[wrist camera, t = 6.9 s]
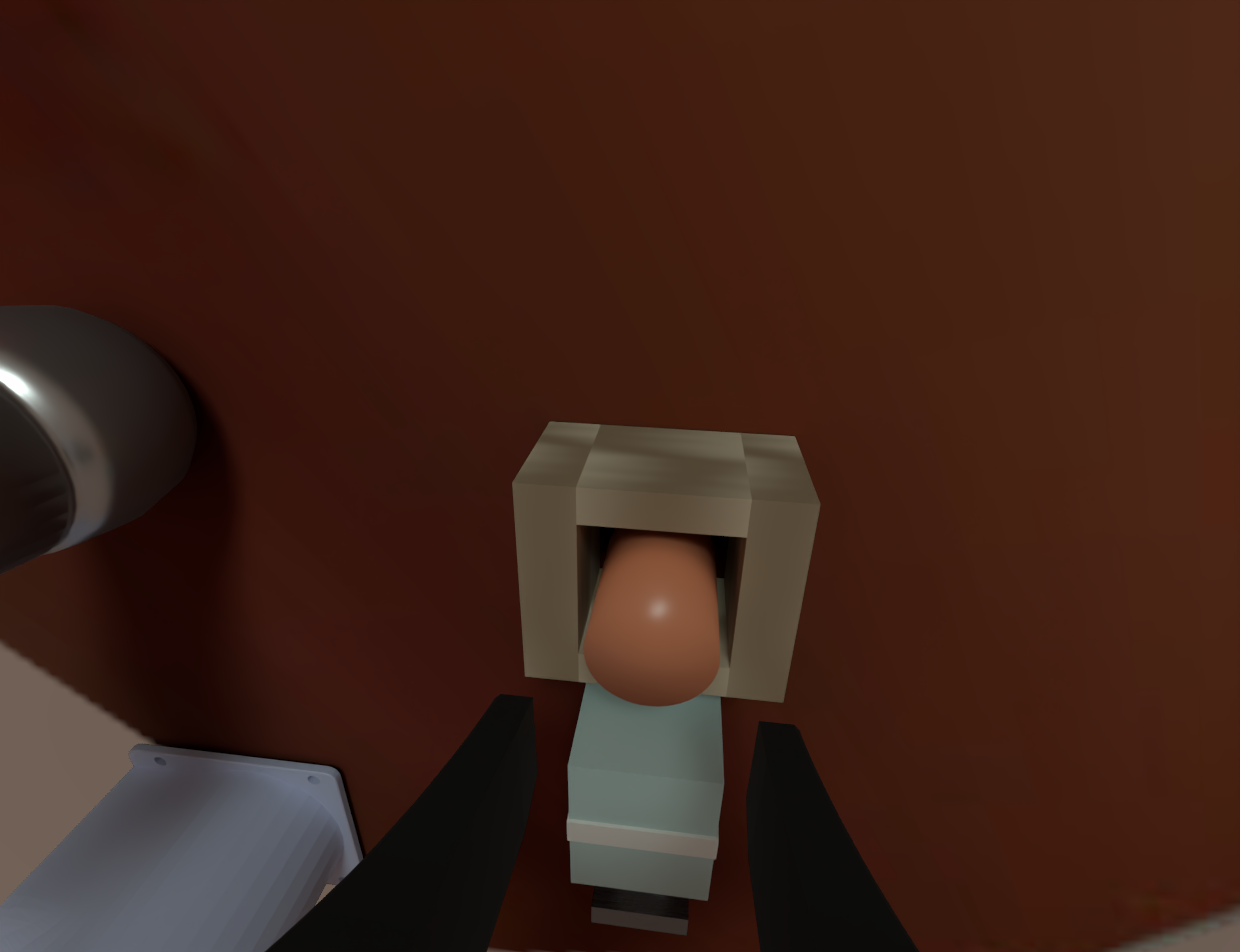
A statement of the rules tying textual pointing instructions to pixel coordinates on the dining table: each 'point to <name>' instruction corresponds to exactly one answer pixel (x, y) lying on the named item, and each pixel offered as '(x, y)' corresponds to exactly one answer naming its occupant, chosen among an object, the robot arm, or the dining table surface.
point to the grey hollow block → (673, 502)
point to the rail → (640, 910)
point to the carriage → (645, 794)
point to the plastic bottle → (82, 429)
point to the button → (655, 617)
